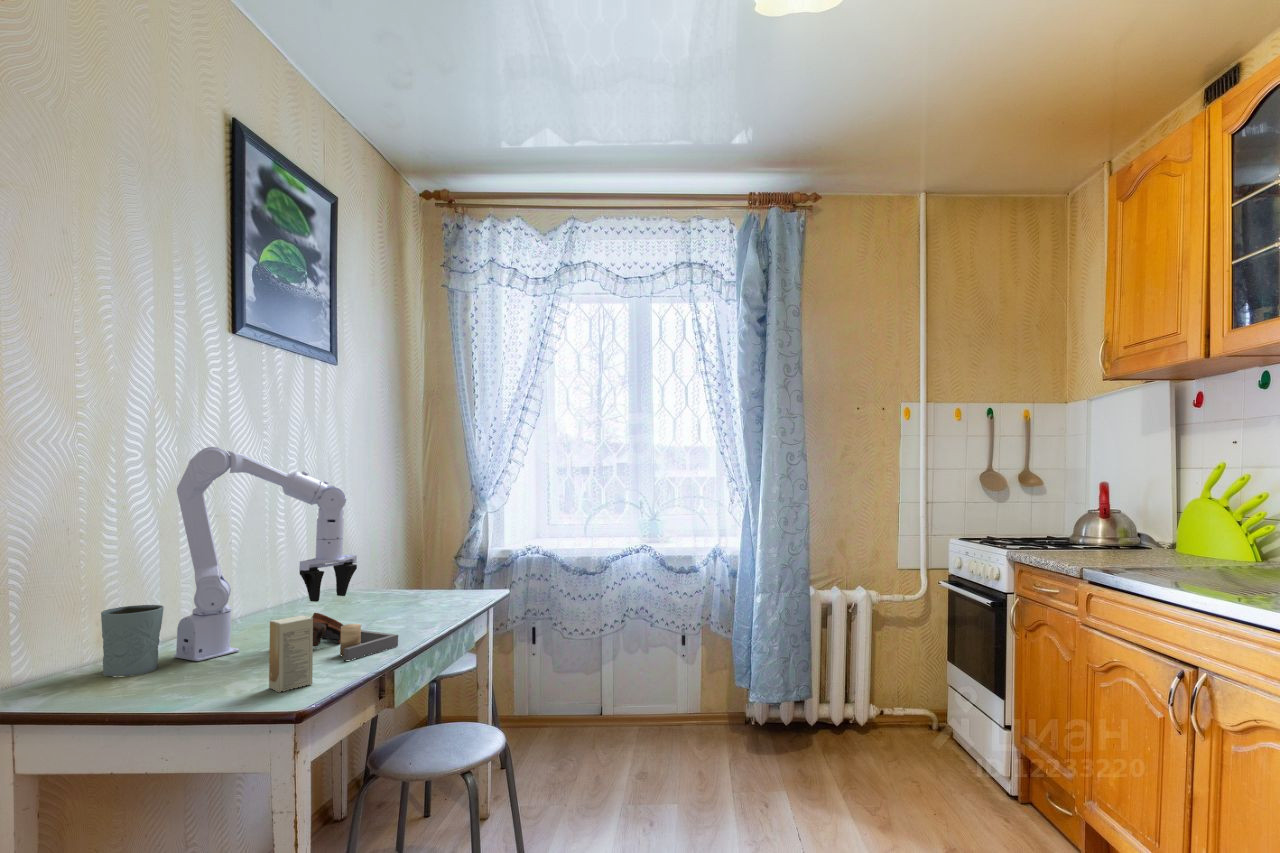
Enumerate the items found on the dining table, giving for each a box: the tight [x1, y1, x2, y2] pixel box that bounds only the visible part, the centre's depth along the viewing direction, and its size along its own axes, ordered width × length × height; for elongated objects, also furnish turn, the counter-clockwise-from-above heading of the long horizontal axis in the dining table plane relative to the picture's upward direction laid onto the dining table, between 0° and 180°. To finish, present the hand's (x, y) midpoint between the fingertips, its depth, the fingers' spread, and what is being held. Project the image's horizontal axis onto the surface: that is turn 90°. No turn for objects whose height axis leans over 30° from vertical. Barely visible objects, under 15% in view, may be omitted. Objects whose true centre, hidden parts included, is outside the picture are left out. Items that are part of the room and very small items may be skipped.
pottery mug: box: [310, 612, 344, 648], centre depth 160 cm, size 12×10×8 cm
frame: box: [321, 629, 399, 661], centre depth 158 cm, size 14×22×2 cm, turn 65°
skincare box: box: [268, 615, 314, 693], centre depth 130 cm, size 6×4×12 cm
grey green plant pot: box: [100, 604, 165, 677], centre depth 140 cm, size 10×10×12 cm
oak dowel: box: [339, 623, 362, 657], centre depth 153 cm, size 4×4×6 cm
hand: (328, 598), depth 164 cm, fingers open, 7 cm apart
